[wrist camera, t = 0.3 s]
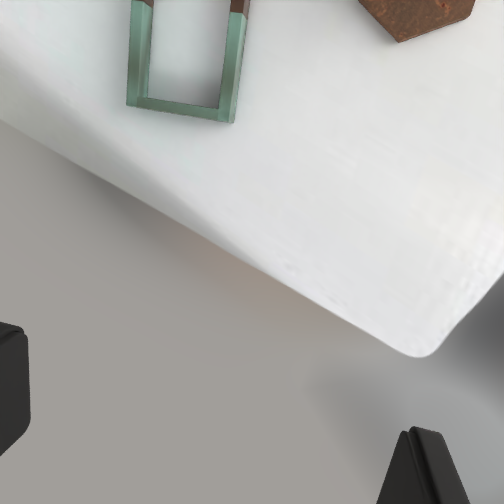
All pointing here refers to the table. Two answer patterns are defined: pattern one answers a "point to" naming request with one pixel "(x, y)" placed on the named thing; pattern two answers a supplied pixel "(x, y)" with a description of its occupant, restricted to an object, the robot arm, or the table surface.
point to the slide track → (141, 56)
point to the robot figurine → (417, 15)
